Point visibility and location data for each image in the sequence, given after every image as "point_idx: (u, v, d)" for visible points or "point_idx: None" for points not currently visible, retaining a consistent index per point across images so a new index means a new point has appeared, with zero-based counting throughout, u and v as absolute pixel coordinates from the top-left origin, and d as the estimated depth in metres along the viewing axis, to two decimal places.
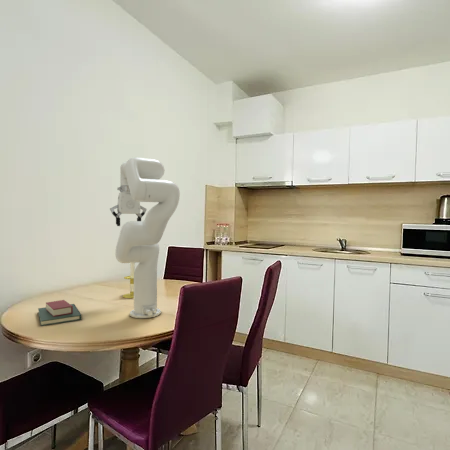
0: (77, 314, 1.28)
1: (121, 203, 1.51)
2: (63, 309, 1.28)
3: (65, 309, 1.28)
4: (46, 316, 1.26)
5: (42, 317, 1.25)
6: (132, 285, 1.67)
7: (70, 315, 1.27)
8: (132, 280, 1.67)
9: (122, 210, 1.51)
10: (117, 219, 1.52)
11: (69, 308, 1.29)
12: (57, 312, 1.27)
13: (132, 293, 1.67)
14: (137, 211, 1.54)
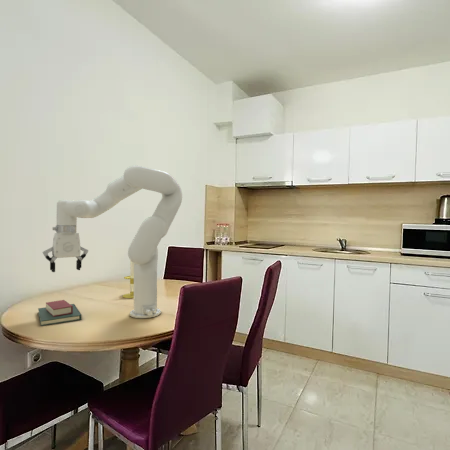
0: (77, 314, 1.28)
1: (57, 246, 1.30)
2: (63, 309, 1.28)
3: (65, 309, 1.28)
4: (46, 316, 1.26)
5: (42, 317, 1.25)
6: (132, 285, 1.67)
7: (70, 315, 1.27)
8: (132, 280, 1.67)
9: (58, 254, 1.30)
10: (51, 264, 1.30)
11: (69, 308, 1.29)
12: (57, 312, 1.27)
13: (132, 293, 1.67)
14: (76, 254, 1.35)
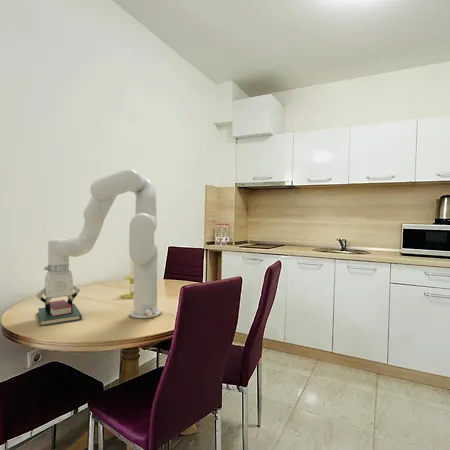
0: (77, 314, 1.28)
1: (49, 286, 1.28)
2: (63, 309, 1.28)
3: (65, 309, 1.28)
4: (46, 316, 1.26)
5: (42, 317, 1.25)
6: (132, 285, 1.67)
7: (70, 315, 1.27)
8: (132, 280, 1.67)
9: (50, 294, 1.28)
10: (46, 306, 1.29)
11: (69, 308, 1.29)
12: (57, 312, 1.27)
13: (132, 293, 1.67)
14: (69, 293, 1.32)
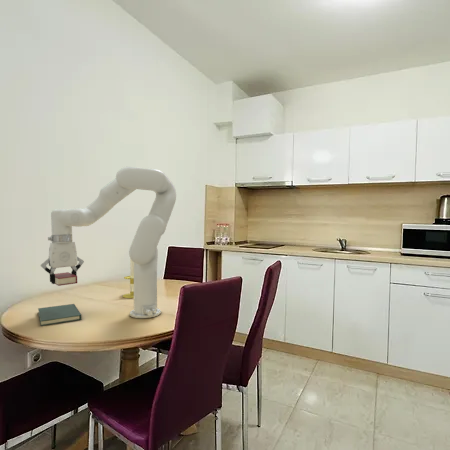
0: (77, 314, 1.28)
1: (53, 256, 1.28)
2: (68, 279, 1.28)
3: (70, 279, 1.29)
4: (46, 316, 1.26)
5: (42, 317, 1.25)
6: (132, 285, 1.67)
7: (70, 315, 1.27)
8: (132, 280, 1.67)
9: (54, 264, 1.28)
10: (51, 276, 1.29)
11: (74, 278, 1.30)
12: (62, 282, 1.27)
13: (132, 293, 1.67)
14: (73, 263, 1.33)
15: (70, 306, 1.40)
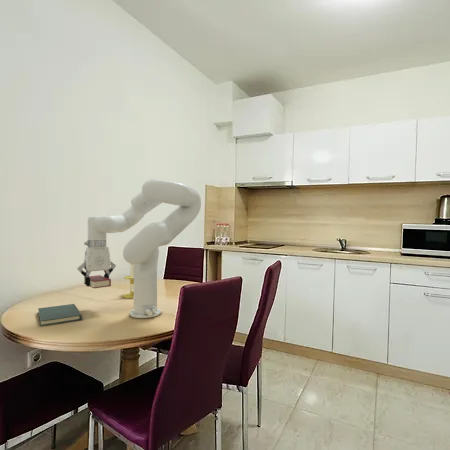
0: (77, 314, 1.28)
1: (89, 260, 1.35)
2: (102, 282, 1.36)
3: (104, 282, 1.36)
4: (46, 316, 1.26)
5: (42, 317, 1.25)
6: (132, 285, 1.67)
7: (70, 315, 1.27)
8: (132, 280, 1.67)
9: (90, 268, 1.36)
10: (86, 279, 1.37)
11: (107, 281, 1.37)
12: (97, 285, 1.34)
13: (132, 293, 1.67)
14: (107, 267, 1.40)
15: (70, 306, 1.40)
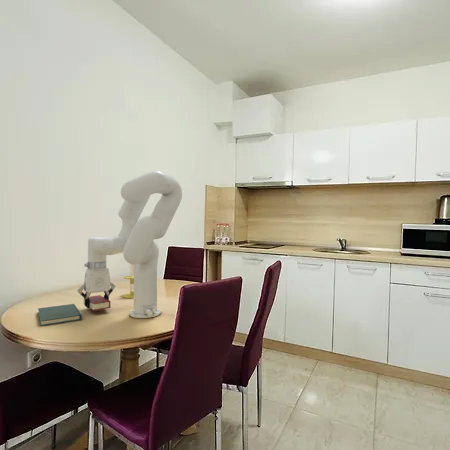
0: (77, 314, 1.28)
1: (89, 282, 1.36)
2: (102, 304, 1.36)
3: (104, 304, 1.37)
4: (46, 316, 1.26)
5: (42, 317, 1.25)
6: (132, 285, 1.67)
7: (70, 315, 1.27)
8: (132, 280, 1.67)
9: (90, 290, 1.36)
10: (86, 300, 1.37)
11: (107, 303, 1.38)
12: (97, 307, 1.35)
13: (132, 293, 1.67)
14: (107, 288, 1.41)
15: (70, 306, 1.40)
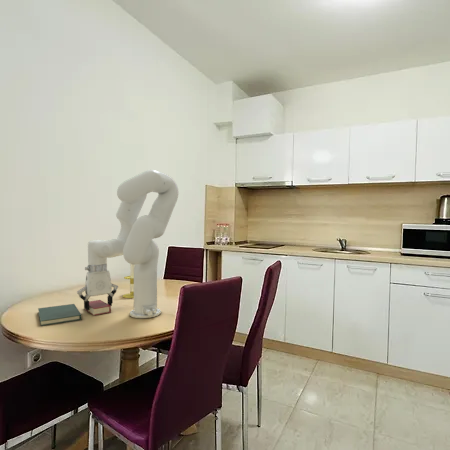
0: (77, 314, 1.28)
1: (90, 285, 1.36)
2: (102, 308, 1.36)
3: (104, 308, 1.37)
4: (46, 316, 1.26)
5: (42, 317, 1.25)
6: (132, 285, 1.67)
7: (70, 315, 1.27)
8: (132, 280, 1.67)
9: (91, 293, 1.36)
10: (86, 303, 1.36)
11: (107, 307, 1.38)
12: (97, 312, 1.35)
13: (132, 293, 1.67)
14: (108, 291, 1.40)
15: (70, 306, 1.40)
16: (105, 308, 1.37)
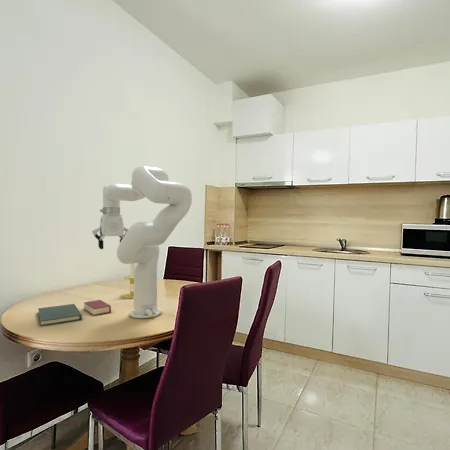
0: (77, 314, 1.28)
1: (104, 226, 1.46)
2: (102, 308, 1.36)
3: (104, 308, 1.37)
4: (46, 316, 1.26)
5: (42, 317, 1.25)
6: (132, 285, 1.67)
7: (70, 315, 1.27)
8: (132, 280, 1.67)
9: (105, 233, 1.47)
10: (100, 242, 1.47)
11: (107, 307, 1.38)
12: (97, 312, 1.35)
13: (132, 293, 1.67)
14: (121, 233, 1.51)
15: (70, 306, 1.40)
16: (105, 308, 1.37)
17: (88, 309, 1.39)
